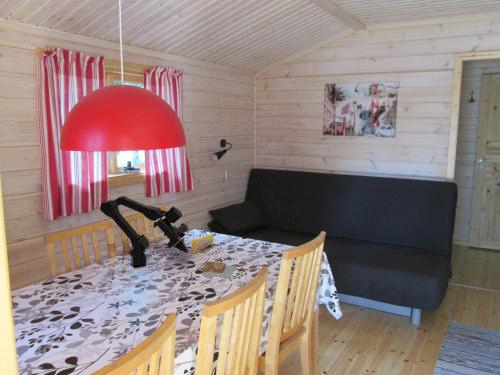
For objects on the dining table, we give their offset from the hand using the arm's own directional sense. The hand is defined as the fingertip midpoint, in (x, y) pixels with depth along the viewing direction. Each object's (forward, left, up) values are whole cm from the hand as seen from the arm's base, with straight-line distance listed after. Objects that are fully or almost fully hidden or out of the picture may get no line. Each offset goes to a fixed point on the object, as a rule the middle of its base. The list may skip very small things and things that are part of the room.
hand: (187, 252), depth 217 cm
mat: (+12, -11, -9) cm, 19 cm away
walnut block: (+6, -6, -7) cm, 11 cm away
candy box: (+20, +23, -9) cm, 32 cm away
